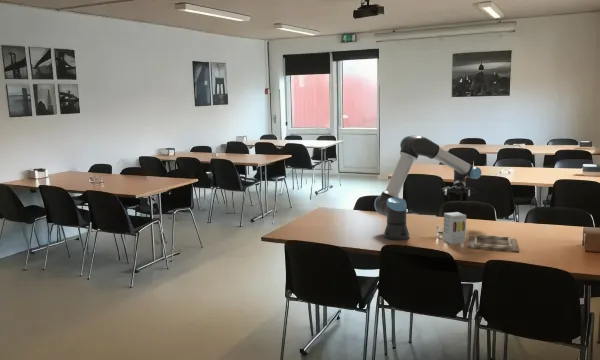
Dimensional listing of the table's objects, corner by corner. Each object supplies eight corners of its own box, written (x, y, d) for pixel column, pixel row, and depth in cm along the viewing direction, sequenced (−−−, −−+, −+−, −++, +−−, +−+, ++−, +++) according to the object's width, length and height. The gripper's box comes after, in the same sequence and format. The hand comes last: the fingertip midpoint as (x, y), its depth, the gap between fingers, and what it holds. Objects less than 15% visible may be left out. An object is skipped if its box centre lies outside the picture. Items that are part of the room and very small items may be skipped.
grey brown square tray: (467, 248, 284) (467, 244, 284) (469, 237, 306) (469, 233, 306) (518, 252, 275) (518, 247, 275) (515, 240, 298) (516, 236, 297)
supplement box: (451, 244, 292) (451, 216, 290) (442, 240, 301) (443, 212, 298) (465, 243, 295) (466, 214, 292) (456, 239, 304) (457, 211, 301)
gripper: (479, 193, 323) (478, 200, 304) (438, 192, 332) (435, 198, 312) (479, 181, 322) (479, 187, 302) (438, 180, 331) (435, 186, 311)
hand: (457, 193), depth 307 cm, fingers open, 13 cm apart
